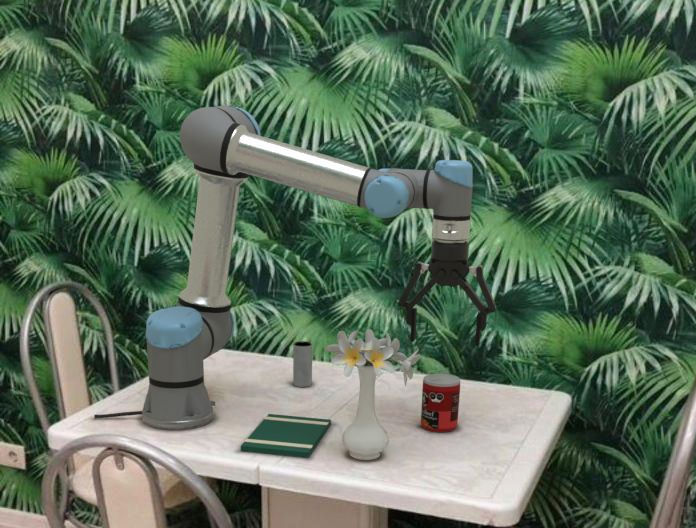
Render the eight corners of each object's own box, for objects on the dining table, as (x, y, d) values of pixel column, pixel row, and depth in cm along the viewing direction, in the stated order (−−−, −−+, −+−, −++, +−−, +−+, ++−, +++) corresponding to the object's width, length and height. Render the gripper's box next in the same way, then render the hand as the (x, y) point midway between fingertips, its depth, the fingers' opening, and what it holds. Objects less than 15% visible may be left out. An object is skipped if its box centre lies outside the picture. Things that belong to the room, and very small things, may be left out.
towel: (240, 451, 191) (240, 445, 191) (268, 418, 210) (268, 413, 209) (308, 458, 189) (308, 451, 188) (330, 424, 207) (330, 419, 207)
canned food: (415, 422, 210) (417, 374, 206) (447, 419, 213) (451, 371, 208) (429, 434, 203) (432, 385, 199) (463, 430, 206) (466, 382, 202)
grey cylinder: (304, 380, 236) (304, 340, 232) (315, 385, 233) (316, 344, 229) (289, 383, 233) (289, 343, 230) (300, 388, 230) (300, 347, 226)
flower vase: (411, 470, 185) (418, 344, 175) (317, 462, 187) (319, 338, 177) (416, 446, 197) (423, 327, 187) (328, 439, 199) (330, 322, 189)
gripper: (386, 239, 192) (383, 342, 200) (511, 246, 188) (503, 350, 195) (392, 234, 199) (389, 333, 206) (513, 240, 194) (505, 341, 202)
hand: (445, 342), depth 201 cm, fingers open, 13 cm apart
